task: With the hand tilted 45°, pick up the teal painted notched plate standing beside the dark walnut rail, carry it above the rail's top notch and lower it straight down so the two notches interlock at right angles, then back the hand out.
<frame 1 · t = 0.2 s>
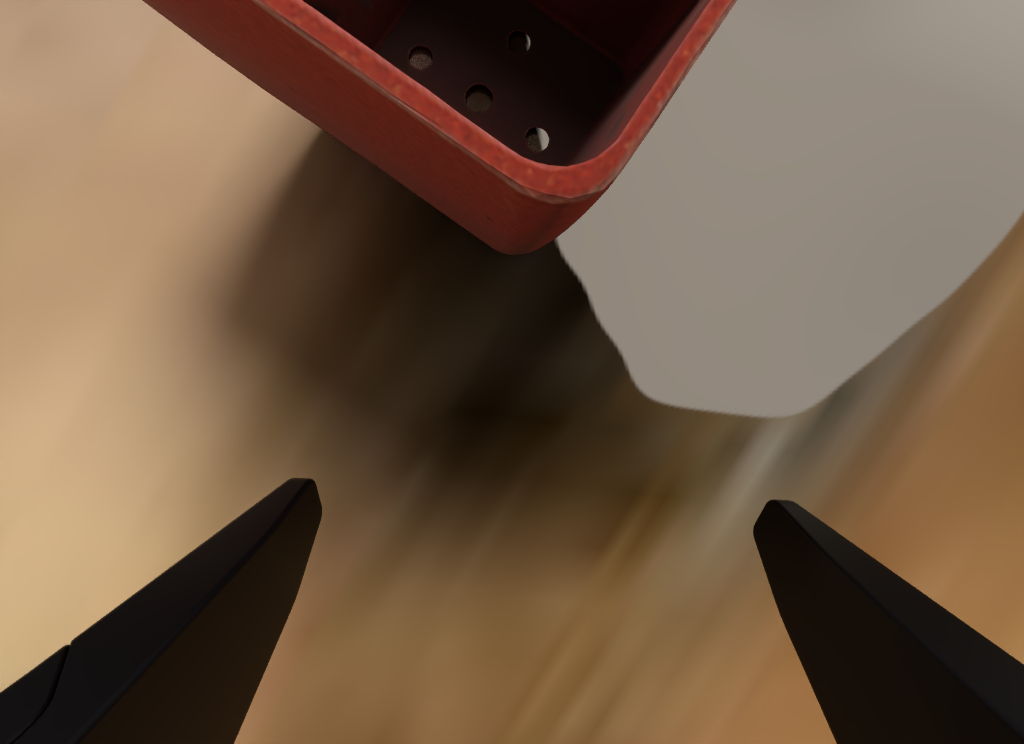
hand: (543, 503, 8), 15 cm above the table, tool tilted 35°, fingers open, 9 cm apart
plant pot: (478, 108, 24), on the table
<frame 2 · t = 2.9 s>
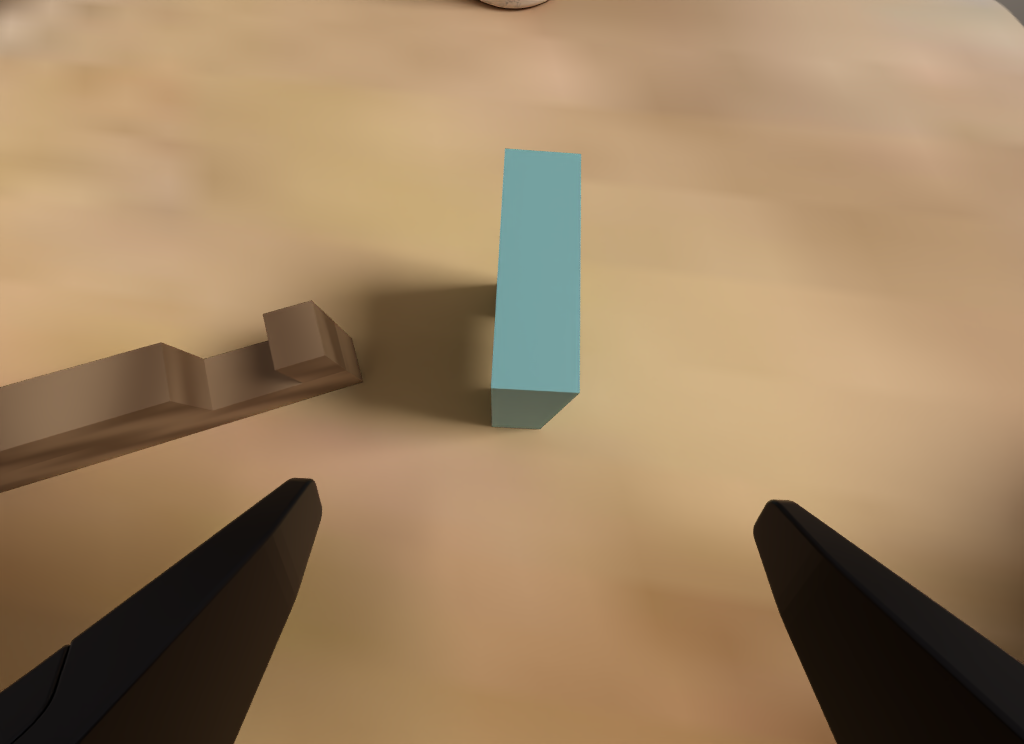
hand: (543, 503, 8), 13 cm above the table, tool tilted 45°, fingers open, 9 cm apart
teal notched plate: (519, 353, 22), on the table
walnut rail: (280, 382, 21), on the table
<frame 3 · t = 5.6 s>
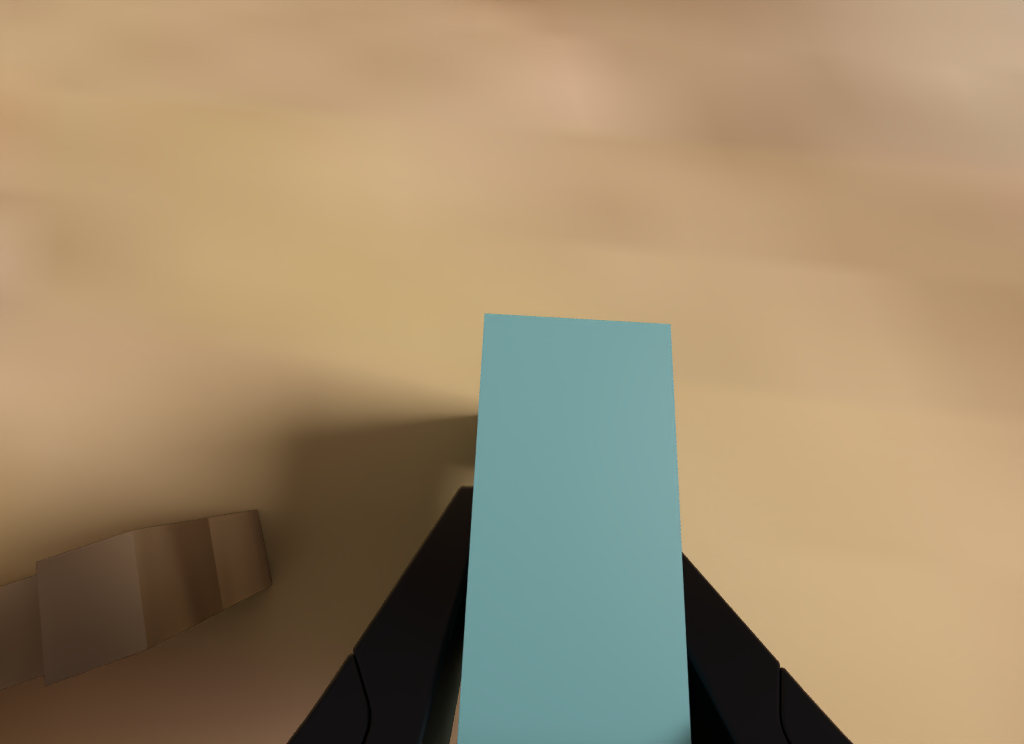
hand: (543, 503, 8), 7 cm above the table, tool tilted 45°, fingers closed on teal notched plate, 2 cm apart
teal notched plate: (519, 530, 14), on the table, touching gripper
walnut rail: (139, 589, 13), on the table
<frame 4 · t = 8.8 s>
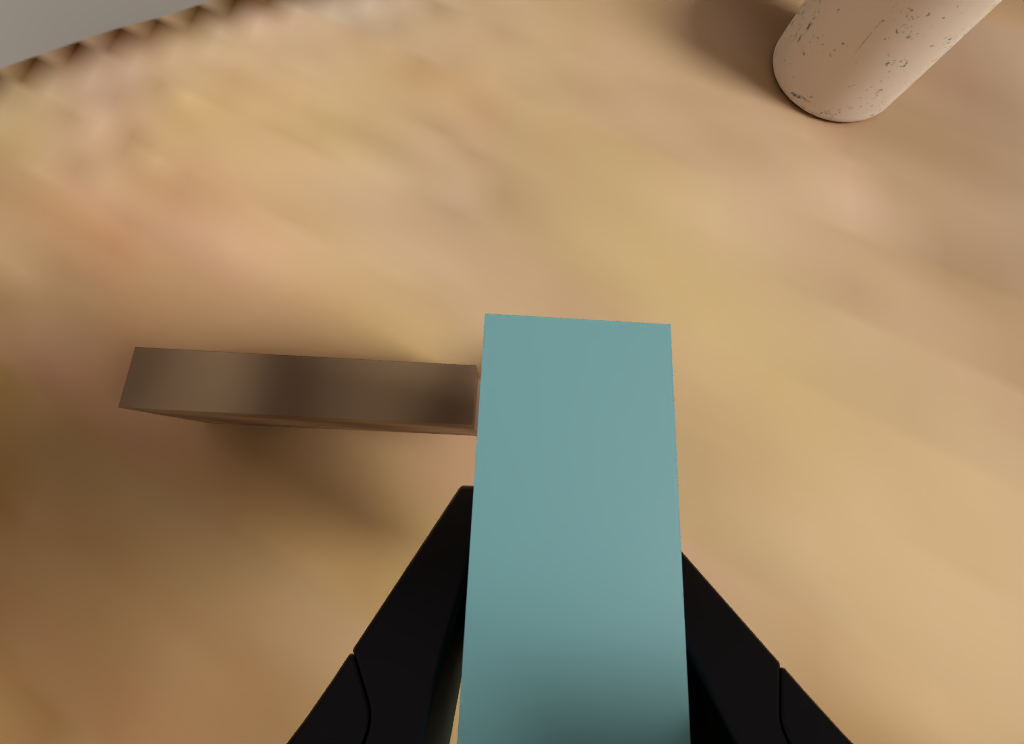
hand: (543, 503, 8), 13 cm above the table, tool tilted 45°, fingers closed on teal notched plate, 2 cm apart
teacup with lid: (819, 61, 29), on the table
teal notched plate: (519, 530, 14), point 7 cm above the table, touching gripper
walnut rail: (515, 413, 22), on the table
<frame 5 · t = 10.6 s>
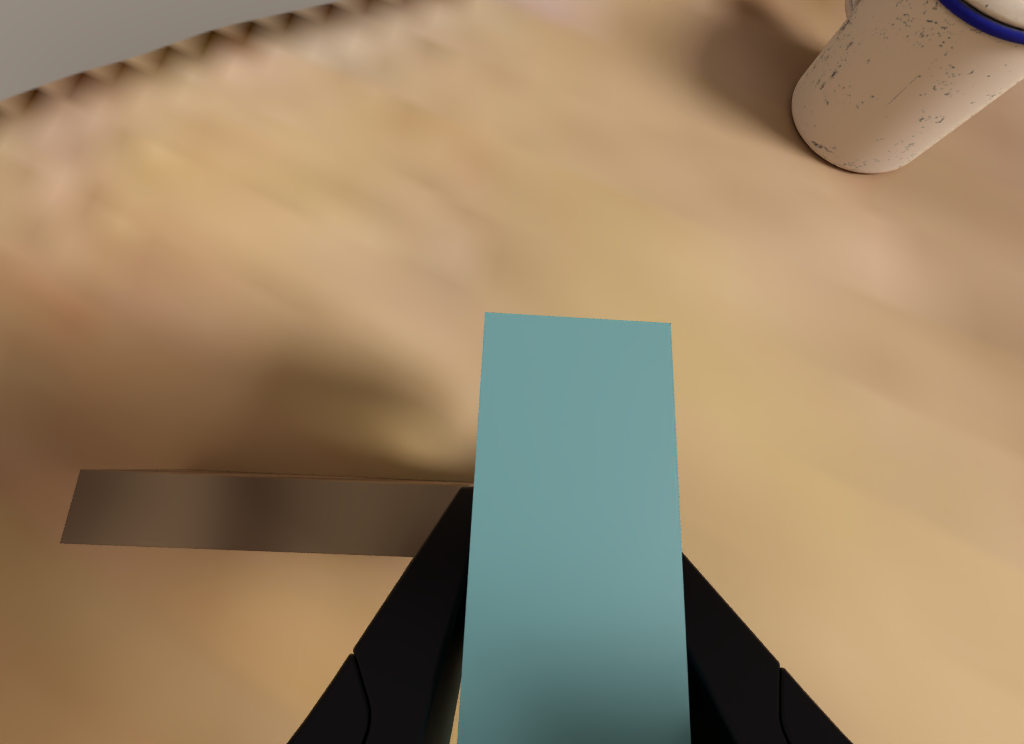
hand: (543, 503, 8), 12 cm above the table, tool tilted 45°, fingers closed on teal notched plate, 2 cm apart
teacup with lid: (841, 103, 27), on the table
teal notched plate: (519, 529, 14), point 6 cm above the table, touching gripper
walnut rail: (512, 510, 20), on the table
when the fingers open (7 cm above the table, at t = 12.2 s): teal notched plate stays where it is, on the table.
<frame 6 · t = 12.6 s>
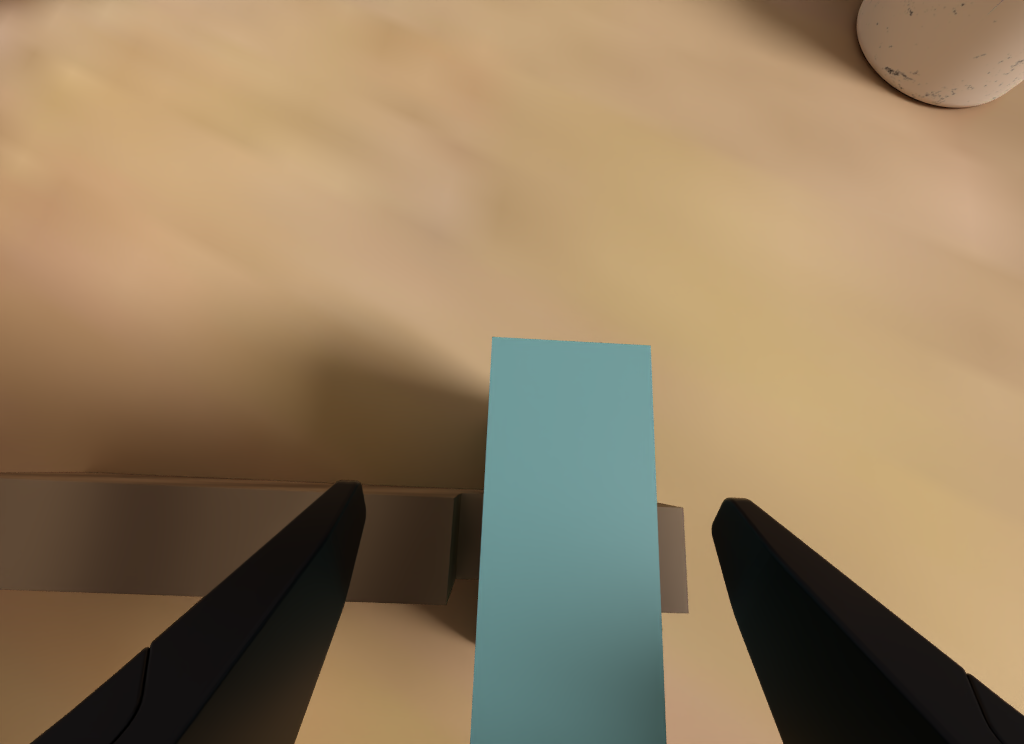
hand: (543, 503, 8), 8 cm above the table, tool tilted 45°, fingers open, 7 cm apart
teacup with lid: (915, 28, 22), on the table
teal notched plate: (519, 526, 15), on the table
walnut rail: (518, 526, 15), on the table
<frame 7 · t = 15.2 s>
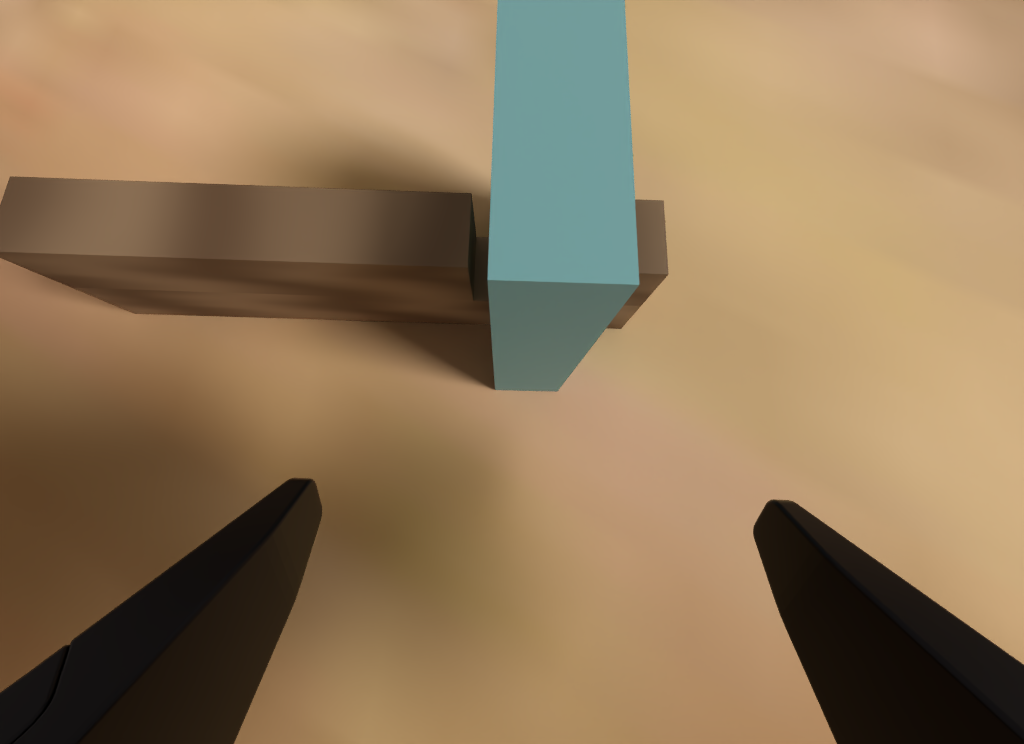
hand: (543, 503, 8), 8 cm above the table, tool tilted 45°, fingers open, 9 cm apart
teal notched plate: (527, 297, 17), on the table
walnut rail: (525, 297, 17), on the table
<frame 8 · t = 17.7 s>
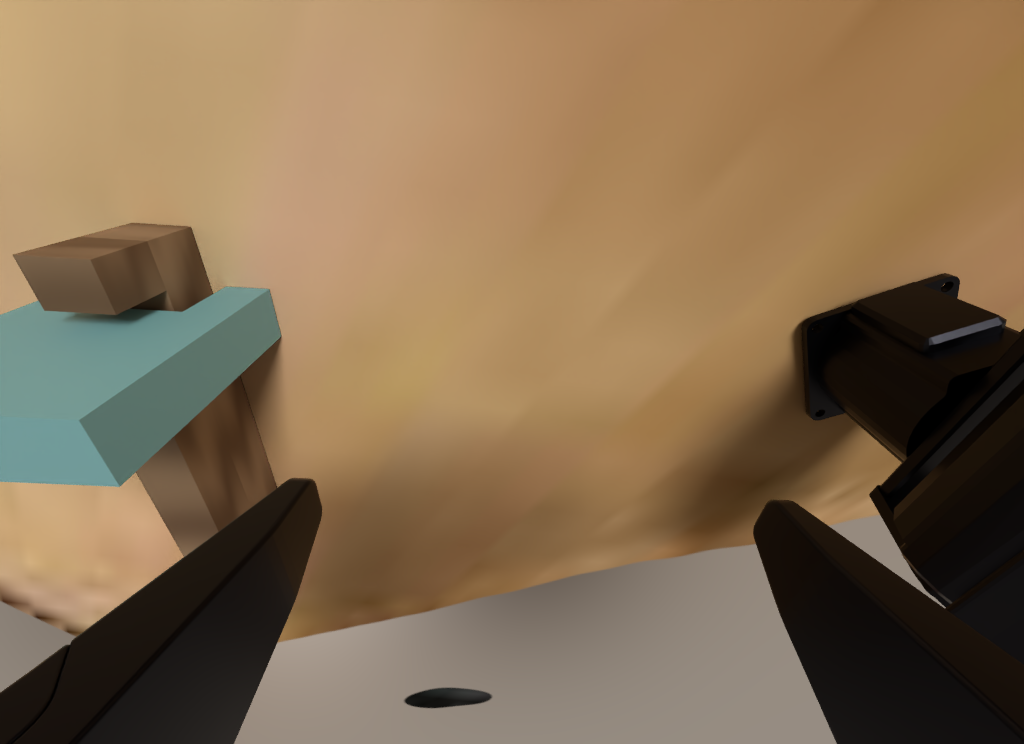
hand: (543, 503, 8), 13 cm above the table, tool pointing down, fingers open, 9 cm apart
teal notched plate: (191, 308, 20), on the table
walnut rail: (192, 310, 20), on the table
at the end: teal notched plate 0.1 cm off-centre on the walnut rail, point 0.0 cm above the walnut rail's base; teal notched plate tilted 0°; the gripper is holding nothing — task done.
